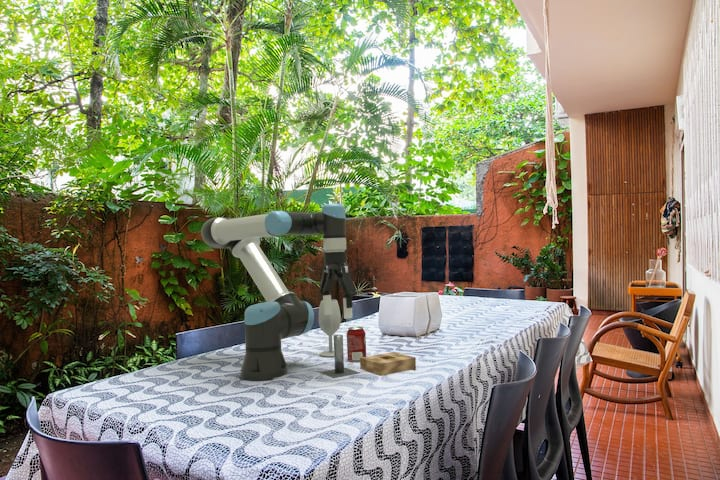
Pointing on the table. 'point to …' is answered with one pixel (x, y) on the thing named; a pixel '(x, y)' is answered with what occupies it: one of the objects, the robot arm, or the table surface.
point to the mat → (334, 375)
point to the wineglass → (329, 324)
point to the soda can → (356, 344)
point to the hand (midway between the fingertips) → (337, 316)
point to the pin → (338, 354)
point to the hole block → (387, 363)
